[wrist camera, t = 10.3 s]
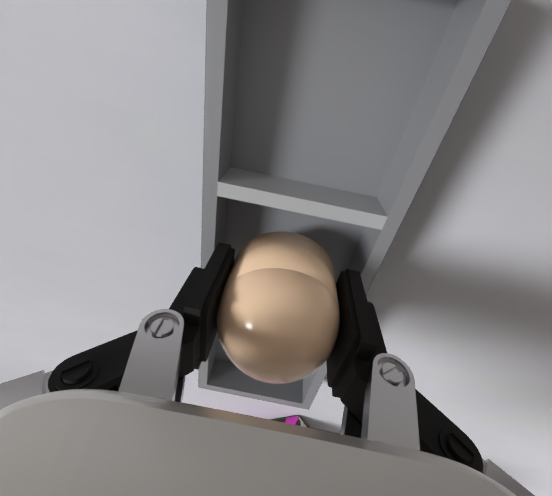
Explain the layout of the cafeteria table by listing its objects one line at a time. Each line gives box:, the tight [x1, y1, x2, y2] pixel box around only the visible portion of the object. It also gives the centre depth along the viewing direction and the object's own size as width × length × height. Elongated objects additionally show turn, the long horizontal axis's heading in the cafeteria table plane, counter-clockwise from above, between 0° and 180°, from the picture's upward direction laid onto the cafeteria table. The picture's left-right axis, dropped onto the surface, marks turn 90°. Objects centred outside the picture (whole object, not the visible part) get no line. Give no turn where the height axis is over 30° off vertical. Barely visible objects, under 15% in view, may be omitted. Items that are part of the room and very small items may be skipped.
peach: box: [216, 231, 340, 384], centre depth 11 cm, size 5×5×5 cm
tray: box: [198, 0, 511, 410], centre depth 14 cm, size 23×8×3 cm, turn 170°
